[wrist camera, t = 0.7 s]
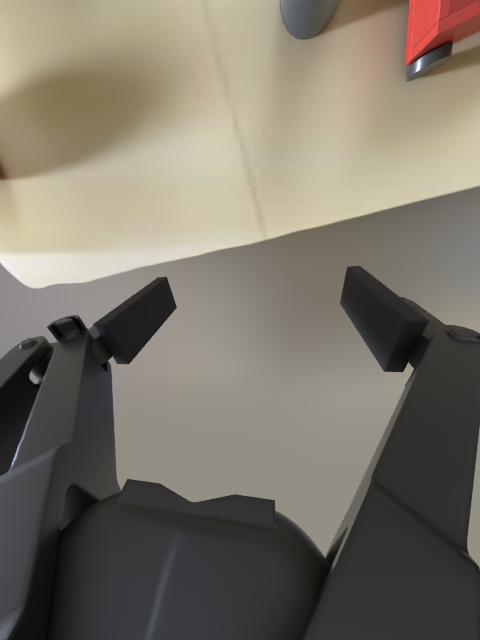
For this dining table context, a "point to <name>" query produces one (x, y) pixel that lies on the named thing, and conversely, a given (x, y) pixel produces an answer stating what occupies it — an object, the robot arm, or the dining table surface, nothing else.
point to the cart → (437, 32)
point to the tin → (307, 16)
